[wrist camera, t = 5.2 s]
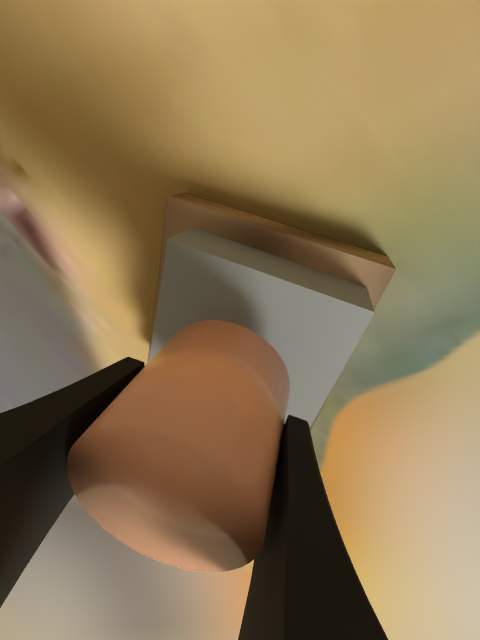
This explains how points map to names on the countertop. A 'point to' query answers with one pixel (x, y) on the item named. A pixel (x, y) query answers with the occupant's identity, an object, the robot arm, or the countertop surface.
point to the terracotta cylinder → (189, 450)
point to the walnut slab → (276, 244)
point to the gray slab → (265, 308)
